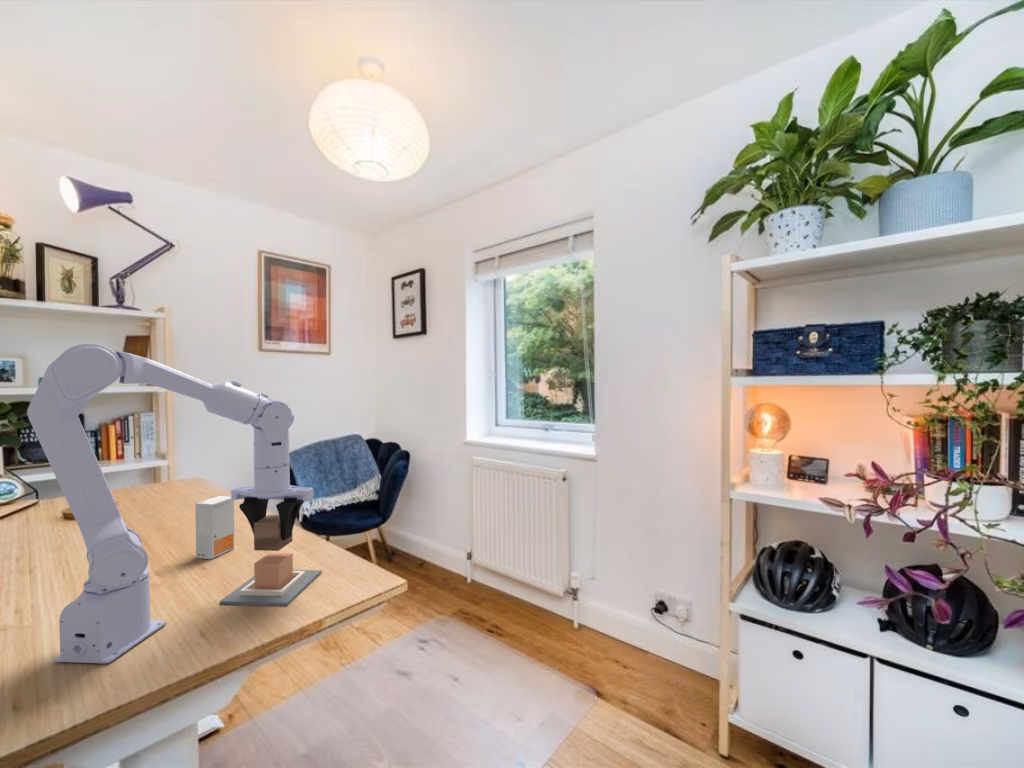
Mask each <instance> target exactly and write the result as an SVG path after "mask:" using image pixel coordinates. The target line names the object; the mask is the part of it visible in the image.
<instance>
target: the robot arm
mask: <svg viewBox="0 0 1024 768" xmlns="http://www.w3.org/2000/svg"><path fill="white" fill-rule="evenodd" d="M118 379H119V381H118V382H119V383H118V384H123V385H124V384H126V385H127V384H128V385H129V384H149V385H151V386H155V387H157V388H160V389H164V390H167V391H170V392H173V393H177V394H180V395H183V396H186V397H189V398H192V399H195V400H199V401H201V402H202V403H203V404H204V407H205V409H206V411H207V413H210V414H214V415H216V416H220V417H223V418H226V419H229V420H232V421H234V422H238V423H240V424H243V425H251V427H252V428H253V439H254V440H253V475H254V477H253V478H254V479H253V481H254V482H253V486H237V487H235V488H232V489H231V490H230V491H231V492H230V493H231V494H230V497H231V500H234V501H238V500H243V502H242V503H240V504H239V510H240V512H242V513H243V514H244V515H243V516H245V517H246V519H247V521H248V523H249V525H250V528H251V531H252V534H253V535H254V523H255V522H257V521H258V520H260V519H262V518H264V517H266V516H267V510H268V506H269V505H268V504H269V500H283V501H280V502H278V503H277V504H276V505H275V506H276V510H277V513H278V515H279V517H280V523H281V538H282V540H286V539H288V538H289V537H291V536H292V537H293V530H294V526H295V522H296V519H297V516H298V514H299V512H300V510H301V507H302V505H303V504H304V502H308V501H310V500H312V499H314V487H304V486H297V485H291V480H290V479H291V477H290V476H291V474H290V473H291V472H290V471H291V469H290V468H291V466H290V437H289V436H290V435H289V433H290V432H289V429H290V427H292V425H293V424H294V420H295V415H294V414H293V412H292V409H291V408H290V407H289V406H288V404H287V403H285V402H283V401H280V400H279V401H278V400H272V399H271V398H269V395H268V394H267V393H264V392H262V393H257V392H254V391H251V390H249V389H246V388H244V387H241V386H242V383H241V382H238V381H236V380H231V382H229V381H225V380H224V381H219V382H217V383H213V384H211V383H209V382H207V381H204V380H201V379H199V378H196V377H195V376H192V375H189V374H187V373H184V372H182V371H180V370H178V369H174V368H173V367H170V366H168V365H165V364H162V363H159V362H157V361H155V360H152V359H150V358H147V357H144V356H141V355H136V354H133V353H130V352H126V351H121V350H116V351H113V350H112V349H110V348H109V347H107V346H104V345H101V344H97V343H81V344H77V345H74V346H71V347H69V348H67V349H65V350H64V351H63V352H62V353H61V354H59V356H58V357H56V358H55V359H54V360H53V361H52V362H51V363H50V364H49V365H48V366H47V368H46V370H45V371H44V374H43V377H42V379H41V381H40V383H39V384H38V387H37V389H36V391H35V393H34V395H33V397H32V399H31V400H30V403H29V404H28V408H27V409H26V410H27V411H26V412H27V417H28V419H29V422H30V424H31V426H32V428H33V432H34V433H35V435H36V437H37V439H38V441H39V444H40V445H41V449H42V451H43V453H44V454H45V457H46V459H47V460H48V463H49V466H50V467H51V470H52V472H53V474H54V477H55V479H56V480H57V483H58V485H59V487H60V489H61V492H62V493H63V495H64V499H65V500H66V502H67V504H68V507H69V509H70V510H71V513H72V515H73V517H74V519H75V521H76V524H77V526H78V528H79V530H80V533H81V536H82V538H83V541H84V545H85V547H86V560H87V563H88V571H87V572H88V574H87V575H88V578H87V580H86V581H84V583H83V590H82V591H81V592H80V594H79V596H77V598H75V599H74V600H73V601H71V602H70V603H68V604H67V605H66V606H65V607H63V610H62V611H61V613H60V615H59V625H58V626H59V651H60V653H59V654H60V655H58V656H56V657H55V658H54V662H55V663H77V664H78V663H79V664H80V663H81V664H82V663H83V664H85V663H86V664H109V663H111V662H112V661H114V660H116V659H117V658H118V657H120V656H122V655H123V654H125V653H126V652H128V651H129V650H130V649H132V648H133V647H134V646H136V645H137V644H139V643H140V642H142V641H144V639H146V638H148V637H149V636H150V635H152V634H154V633H155V632H156V631H158V630H159V629H161V628H162V627H163V626H165V625H166V624H167V621H166V620H163V619H162V620H159V619H158V620H156V619H151V597H150V596H151V591H150V587H151V586H150V585H151V584H150V569H149V567H148V563H149V554H148V552H147V550H146V549H145V548H144V546H143V543H142V542H143V541H142V538H141V536H140V535H139V534H138V532H136V531H134V530H132V529H130V528H129V527H128V525H127V523H126V522H125V520H124V518H123V515H122V513H121V511H120V509H119V507H118V504H117V502H116V499H115V497H114V496H113V493H112V490H111V489H110V486H109V484H108V481H107V479H106V477H105V475H104V473H103V470H102V468H101V466H100V464H99V461H98V459H97V456H96V453H95V452H94V449H93V446H92V445H91V442H90V439H89V438H88V436H87V433H86V431H85V429H84V427H83V424H82V422H81V420H80V417H79V416H80V414H81V412H83V411H84V409H85V408H86V407H87V405H89V403H90V402H91V401H92V399H93V398H94V396H95V395H97V394H98V393H100V392H102V391H103V390H105V389H107V387H109V386H110V385H112V384H114V383H115V382H116V381H117V380H118Z"/></svg>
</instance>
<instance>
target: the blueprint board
mask: <svg viewBox="0 0 1024 768" xmlns="http://www.w3.org/2000/svg"><path fill="white" fill-rule="evenodd" d="M321 572H323V571H322V570H319V569H317V570H316V569H310V570H309V569H293V579H292V580H291V581H290V582H289V583H288V584H287V585H285V586H284V587H283V588H282V589H281V590H269V589H255V575H253V576H252V577H251V578H249V579H248V580H246V581H245V582H244V583H243V584H241V585H240V586H238V587H237V588H236V589H234V590H233V591H231V592H230V593H229V594H227V595H226V596H225V597H224V598H222V599H221V600H220V601H219V605H239V606H241V605H244V606H247V605H248V606H277V607H278V606H281V607H287V606H289V604H291V603H292V602H293V601H294V600H295V599H296V598H297V597H298V596H299V595H300V594H301V593H302V592H303V591H304V590H305V589H307V587H309V585H311V584H312V583H313V582H314V581H315V580H316V579H317V578H318V577H319V576H320V575H321V574H322V573H321ZM320 573H321V574H320ZM319 574H320V575H319ZM318 575H319V576H318ZM317 576H318V577H317ZM316 577H317V578H316ZM315 578H316V579H315ZM314 579H315V580H314ZM313 580H314V581H313ZM312 581H313V582H312ZM311 582H312V583H311ZM310 583H311V584H310Z"/></svg>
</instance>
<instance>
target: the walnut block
mask: <svg viewBox="0 0 1024 768" xmlns="http://www.w3.org/2000/svg"><path fill="white" fill-rule="evenodd" d="M292 542H293V535H292V536H291V537H289V538H288V539H286V540H282V538H281V523H280V517H279V514H268V515H266V517H264V518H262V519H260V520H258V521H257V522H255V523H254V534H253V547H254V548H253V549H254V550H253V551H260V552H261V551H265V552H267V551H269V552H271V551H272V552H275V551H276V552H279V551H281V550H282V549H284V548H285V547H286V546H288V545H289V544H290V543H292Z"/></svg>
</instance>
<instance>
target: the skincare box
mask: <svg viewBox="0 0 1024 768" xmlns="http://www.w3.org/2000/svg"><path fill="white" fill-rule="evenodd" d="M232 549H233V550H234V549H235V500H231V496H225V495H218V496H215V497H212V498H208V499H205V500H203V501H200V502H198V503H195V558H196V559H206V560H213V559H215V558H217V557H219V556H221V555H223V554H226V553H228V552H230V551H232Z"/></svg>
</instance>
